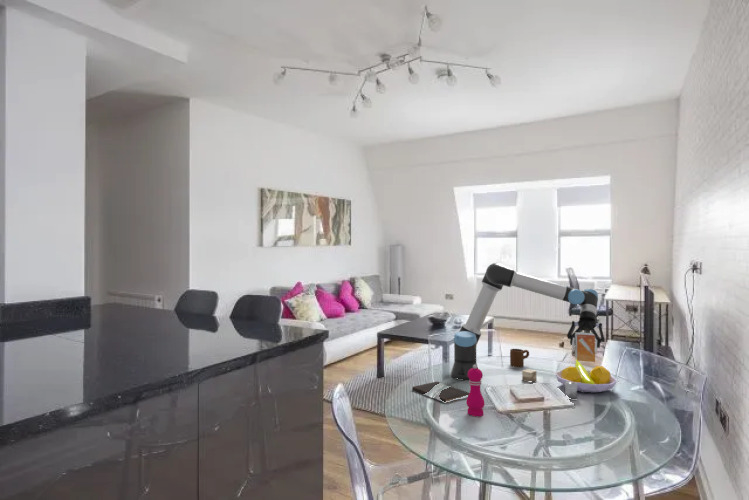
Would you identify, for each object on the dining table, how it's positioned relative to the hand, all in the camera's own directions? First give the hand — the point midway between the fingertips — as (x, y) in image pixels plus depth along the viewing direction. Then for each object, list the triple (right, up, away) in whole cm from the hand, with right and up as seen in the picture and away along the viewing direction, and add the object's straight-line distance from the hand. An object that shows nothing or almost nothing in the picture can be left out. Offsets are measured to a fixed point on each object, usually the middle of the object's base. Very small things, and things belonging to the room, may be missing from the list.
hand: (584, 351), depth 201 cm
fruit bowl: (+2, -19, +2) cm, 19 cm away
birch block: (-21, -19, +15) cm, 32 cm away
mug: (-15, -20, +46) cm, 52 cm away
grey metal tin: (-13, -18, -13) cm, 26 cm away
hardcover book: (-70, -19, -6) cm, 73 cm away
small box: (+2, -5, +2) cm, 6 cm away
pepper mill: (-60, -18, -32) cm, 71 cm away
